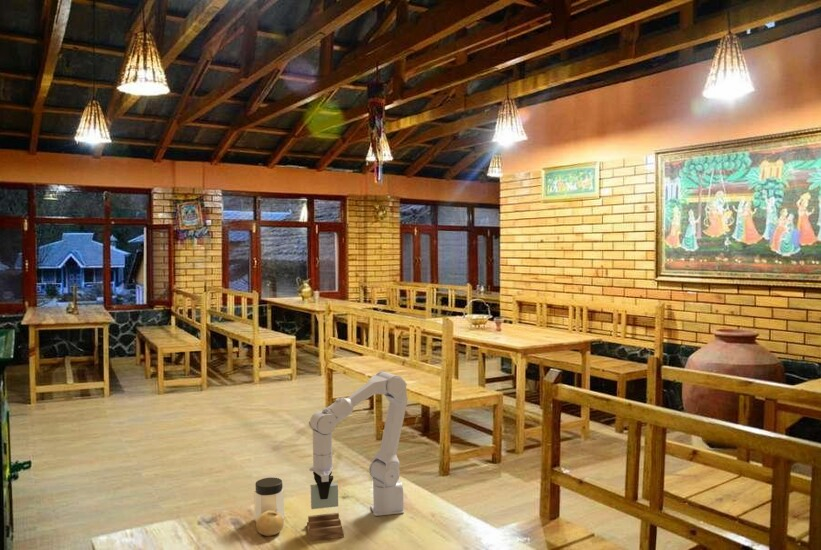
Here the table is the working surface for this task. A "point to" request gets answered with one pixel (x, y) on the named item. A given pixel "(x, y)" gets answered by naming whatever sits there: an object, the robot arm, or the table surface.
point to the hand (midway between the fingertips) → (323, 496)
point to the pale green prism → (324, 503)
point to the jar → (269, 496)
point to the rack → (324, 526)
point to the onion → (269, 523)
